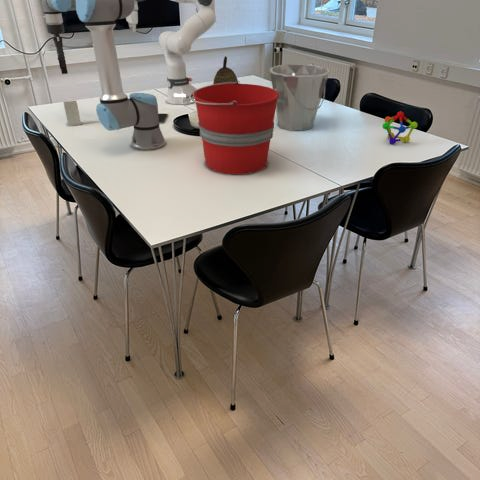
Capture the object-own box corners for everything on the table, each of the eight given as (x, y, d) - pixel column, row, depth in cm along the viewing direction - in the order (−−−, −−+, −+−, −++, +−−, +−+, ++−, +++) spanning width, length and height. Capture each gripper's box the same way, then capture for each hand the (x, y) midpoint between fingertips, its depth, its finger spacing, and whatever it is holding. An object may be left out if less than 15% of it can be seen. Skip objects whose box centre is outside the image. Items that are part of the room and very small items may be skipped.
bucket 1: (198, 147, 204) (194, 79, 188) (274, 148, 203) (277, 80, 187) (188, 177, 175) (183, 101, 159) (277, 179, 174) (281, 102, 158)
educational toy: (377, 146, 209) (379, 114, 202) (384, 138, 219) (386, 107, 211) (411, 149, 202) (415, 116, 195) (417, 141, 212) (420, 109, 204)
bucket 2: (296, 138, 215) (301, 78, 201) (255, 124, 234) (256, 68, 219) (335, 125, 232) (342, 70, 217) (294, 113, 251) (297, 61, 236)
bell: (227, 105, 294) (202, 96, 282) (238, 66, 289) (213, 55, 277) (243, 108, 280) (217, 98, 268) (255, 66, 275) (229, 55, 263)
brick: (67, 123, 234) (63, 101, 228) (80, 122, 236) (76, 100, 230) (68, 125, 230) (64, 104, 224) (81, 124, 233) (76, 102, 227)
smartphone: (149, 121, 235) (154, 113, 247) (150, 122, 235) (155, 114, 248) (163, 121, 235) (167, 113, 247) (163, 123, 235) (168, 114, 248)
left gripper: (45, 21, 217) (54, 66, 228) (47, 26, 197) (57, 76, 208) (61, 20, 219) (69, 65, 230) (64, 26, 199) (73, 75, 211)
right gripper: (122, 4, 278) (125, 29, 286) (127, 7, 262) (130, 33, 269) (132, 4, 280) (134, 28, 288) (138, 7, 264) (141, 32, 272)
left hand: (63, 71), depth 219 cm, fingers open, 13 cm apart
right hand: (132, 30), depth 278 cm, fingers open, 8 cm apart
